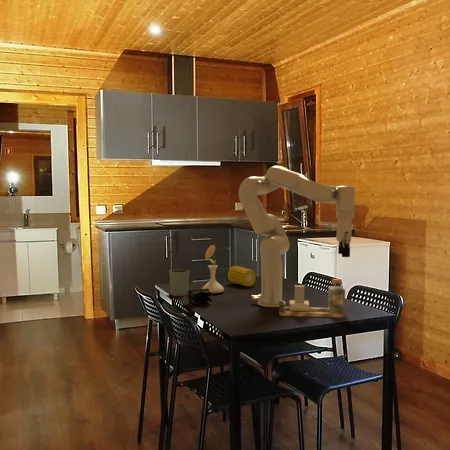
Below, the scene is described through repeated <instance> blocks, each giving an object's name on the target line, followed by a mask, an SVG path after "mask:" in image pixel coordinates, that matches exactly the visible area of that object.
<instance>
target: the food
mask: <svg viewBox="0 0 450 450" xmlns="http://www.w3.org/2000/svg"><path fill="white" fill-rule="evenodd" d="M227 272H228V273H227V276H228V277H227V278H228V280H229V281H230V282H231V283H234V284H236V285H241V286H243V287H246V288H247V287H252V286H253V285H254V284H255V282H256V278H257V277H256V273H255V271H253V270H252V269H250V268H246V267H242V266H238V265H233V266H231V267H230V268H229V270H228V271H227Z"/></svg>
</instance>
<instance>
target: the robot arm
mask: <svg viewBox="0 0 450 450" xmlns="http://www.w3.org/2000/svg"><path fill="white" fill-rule="evenodd" d="M280 188H281V189H285V190H286V191H287V190H288V191H290V192H293V193H294V194H297V195H299V196H301V197H304V198H306V199H308V200H312V201H314V202H317V203H320V204H328V203H336V204H335V219H337V223H336V238H335V240H336V241H337V242H338V246H337V247H338V249H337V250H338V252H337V253H338V255H341V257H342V258H350V256H351V244H350V243H351V241H352V224H353V223H352V220H354V219H355V202H356V200H355V198H356V197H355V196H356V188H355V187H354V186H352V185H339V186H337V185H331V184H321V183H318V182H315V181H314V180H313V181H312V180H310V179H308V178H307V177H305V175H304V174H302V173H299V172H296V171H292V170H290V169H289V168H288V167H285V166H281V165H273V166H270V167H269V168H267V170H266V173H265V174H264V175H263V176H249V177H246V178H244V180H243V181H242V182H241V183H240V185H239V188H238V198H239V201H240V205H242V208H243V209H244V212H245V214H246V216H247V219H248V221H249V223H250V224H251V227H252V229H253V231H254V233H255V234H257V235H258V236H265V237H264V238H263V239H262V241H261V242H260V244H259V253H260V263H261V269H260V270H261V275H260V276H261V277H260V278H261V280H260V281H261V282H260V283H261V285H260V286H261V290H260V291H261V292H260V294H257V295H256V294H252V295H251V300H254V301H257V305H258V306H261V307H265V308H279V301H283V261H282V256H281V255H284V254H286V253H287V252H288V251H289V249H290V247H291V246H290V245H291V244H290V240H289V238H288V235H287V234H286V231H285V230H284V228H283V225H282V223H281V221H280V220H279V219H278V217H277V216H276V215H274V214H270V213H268V212H266V209H265V208H264V205H263V203H262V202H261V201H260V199H259V198H258V196H264V195H266V194H269V193H272V192H273V191H276V190H277V189H280ZM284 306H286V301H284Z"/></svg>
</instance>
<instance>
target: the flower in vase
mask: <svg viewBox="0 0 450 450" xmlns="http://www.w3.org/2000/svg"><path fill="white" fill-rule="evenodd" d="M215 252H216V246H215V244H211V245H210V246H209V247H207V250H206V252H205V254H204V255H205V256H204V258H205V259H206V260H208V259H209V261H210V263H211V265H207V268H209V270H210V271H209V272H210V279H209V281H208V282H207V283H206V284H205V285H204V286H202V288H201V289H209V291H210V292H211V293H212V294H220V293H222V292H224V290H225V288H224V286H222V285H221V284H220V283H219V282H218V281H217V280H216V272H217V271H216V270H217V268H218V265H217V260H216V259H215V255H214V253H215ZM211 257H213V259H212V258H211Z"/></svg>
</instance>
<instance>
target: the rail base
mask: <svg viewBox="0 0 450 450" xmlns="http://www.w3.org/2000/svg"><path fill="white" fill-rule="evenodd" d="M327 294H328V296H327V301H328V302H327V303H328V304H327V307H313V306H311V307H310V306H309V311H292V310H290V306H285V305H284V302H285V301H284V300H282V301H279V307H278V316H280V317H282V316H283V317H284V316H286V317H308V318H309V317H313V318H316V317H317V318H345V313H346V312H345V311H346V307H345V306H346V305H345V303H346V302H345V301H346V289H345V288H344V287H343V286H341V285H340V286H339V285H337V286H336V285H333V286H332V285H328V293H327Z"/></svg>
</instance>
